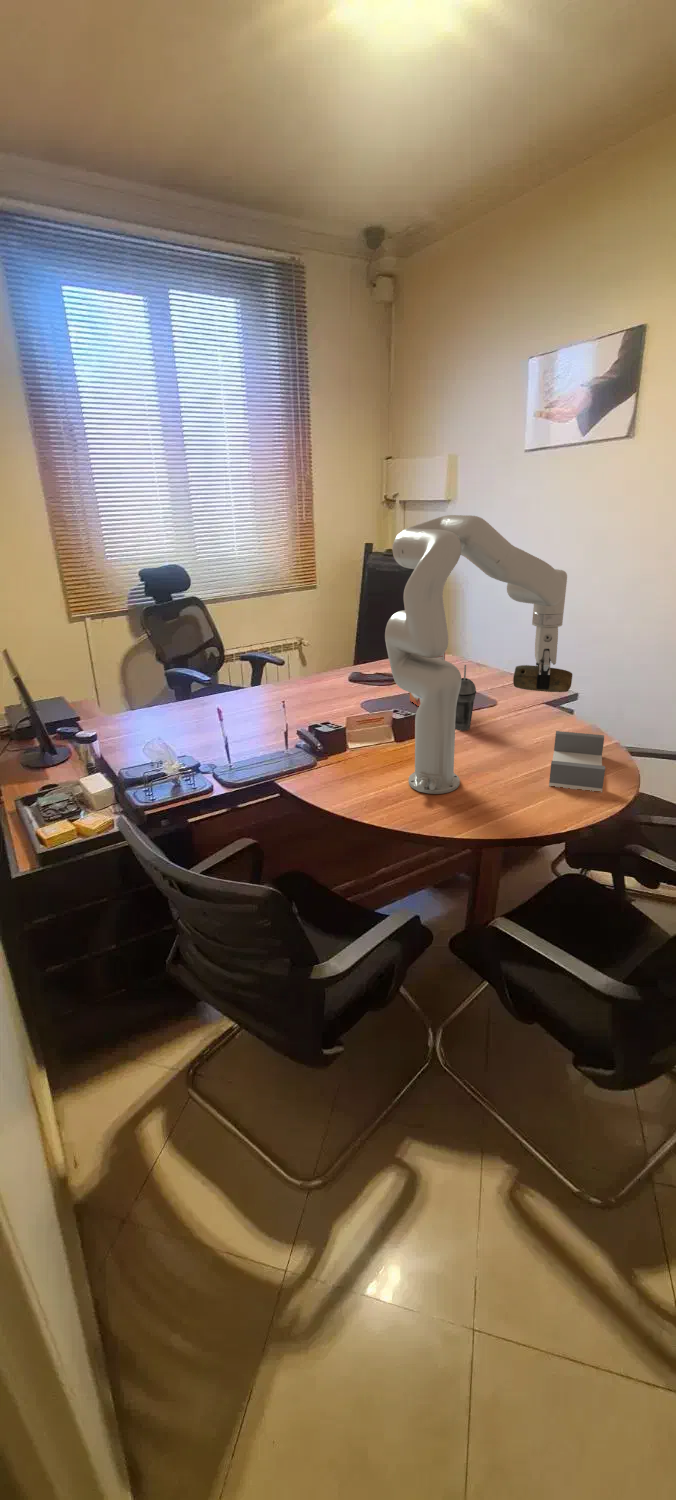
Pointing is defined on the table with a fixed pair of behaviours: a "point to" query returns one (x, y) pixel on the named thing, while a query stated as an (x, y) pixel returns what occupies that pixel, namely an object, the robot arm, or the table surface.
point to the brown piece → (528, 679)
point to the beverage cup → (465, 703)
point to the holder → (577, 761)
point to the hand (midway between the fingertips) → (541, 683)
